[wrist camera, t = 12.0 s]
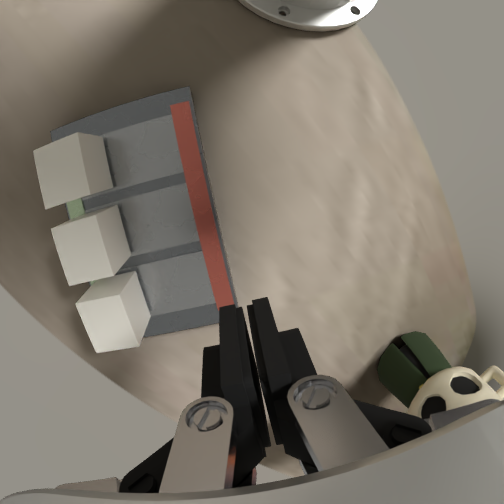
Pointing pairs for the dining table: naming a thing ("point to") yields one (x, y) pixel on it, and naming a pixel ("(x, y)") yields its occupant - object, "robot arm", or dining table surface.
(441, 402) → the character mug
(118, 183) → the panel
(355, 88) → the dining table surface
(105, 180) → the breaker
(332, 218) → the dining table surface
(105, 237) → the block
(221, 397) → the robot arm
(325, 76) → the dining table surface
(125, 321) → the block
